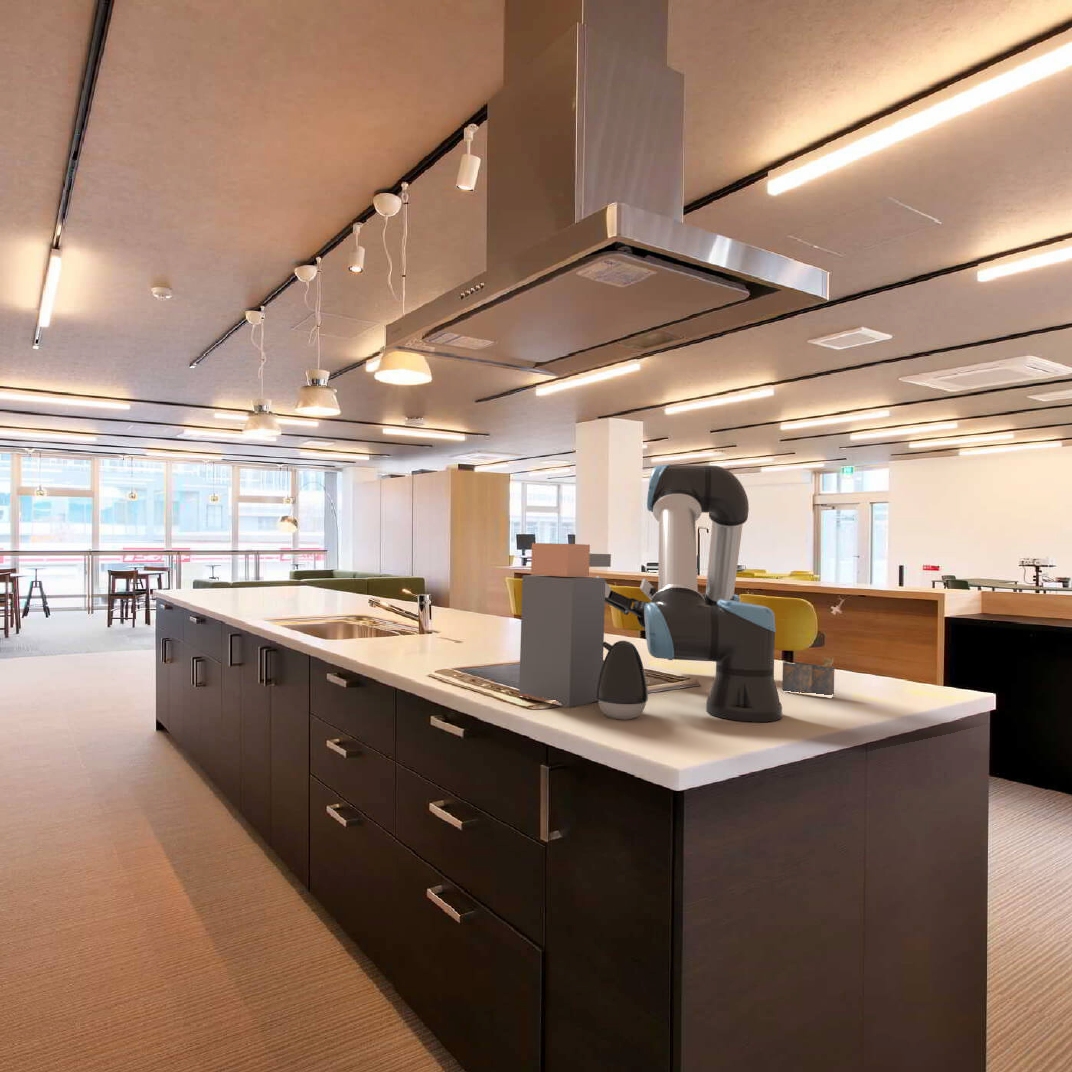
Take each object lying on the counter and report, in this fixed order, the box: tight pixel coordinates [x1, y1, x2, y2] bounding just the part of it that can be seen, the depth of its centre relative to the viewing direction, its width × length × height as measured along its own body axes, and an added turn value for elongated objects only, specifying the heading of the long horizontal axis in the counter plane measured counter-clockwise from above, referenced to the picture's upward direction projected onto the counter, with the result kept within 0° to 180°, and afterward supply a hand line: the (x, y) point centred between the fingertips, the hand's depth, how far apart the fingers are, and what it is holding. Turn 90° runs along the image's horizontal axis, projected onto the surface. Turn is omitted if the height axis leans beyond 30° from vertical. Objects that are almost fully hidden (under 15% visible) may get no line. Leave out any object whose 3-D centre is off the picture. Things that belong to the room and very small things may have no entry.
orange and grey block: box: [530, 542, 612, 577], centre depth 166 cm, size 22×10×7 cm, turn 140°
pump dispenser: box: [597, 640, 649, 720], centre depth 146 cm, size 10×10×15 cm
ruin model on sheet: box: [781, 656, 835, 695], centre depth 175 cm, size 25×16×10 cm, turn 55°
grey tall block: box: [518, 575, 606, 709], centre depth 162 cm, size 12×14×27 cm
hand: (618, 581), depth 179 cm, fingers open, 13 cm apart
